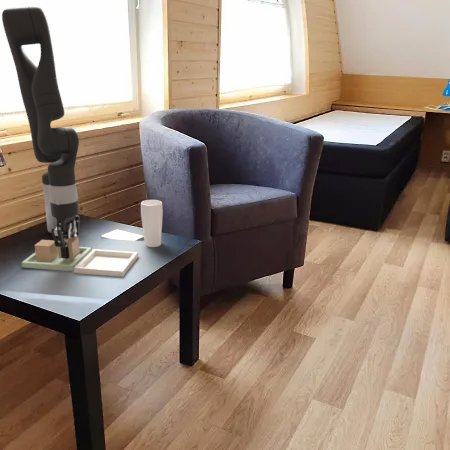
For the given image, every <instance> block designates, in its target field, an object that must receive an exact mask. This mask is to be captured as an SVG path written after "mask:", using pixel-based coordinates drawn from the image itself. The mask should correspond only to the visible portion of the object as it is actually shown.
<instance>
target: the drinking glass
mask: <svg viewBox="0 0 450 450" xmlns="http://www.w3.org/2000/svg"><path fill="white" fill-rule="evenodd" d="M163 213H164V212H163V202H162V201H161V200H158V199H145V200H142V201H141V203H140V219H141V224H142V225H141V226H142V232H143V236H144V239H143V241H144V246H145V247H148V248H157V247H160V246H161V245H162V230H163V218H164V217H163Z"/></svg>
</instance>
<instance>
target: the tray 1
mask: <svg viewBox="0 0 450 450" xmlns="http://www.w3.org/2000/svg"><path fill="white" fill-rule="evenodd" d="M79 249H80V254H78V255H77V256H76V257H75V258H74V259H63V258H59V257H56V258H55V259H54V260H53V261H52V262H43V261H36V253H35V252H34V253H32V254H31V255H29V256H28V257H27V258H25V259H24V260H23V261H21V268H26V269H38V270H40V269H42V270H50V271H51V270H53V271H64V272H74V267H75V266H77V265H78V264H79V263H80V262H81V261H82V260H83V259H84V258H85V257H86V256H87V255H88V254H89V253H90V252H91V251H92V250H93V247H89V246H88V247H87V246H79ZM57 251H58V247H57Z"/></svg>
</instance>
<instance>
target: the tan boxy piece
mask: <svg viewBox="0 0 450 450" xmlns="http://www.w3.org/2000/svg"><path fill="white" fill-rule="evenodd" d="M34 253H36V261H43V262H52V261H53V260H54V259H55V258H56V257H58V251H57V247H56V246H55V243H54V239H53V240H52V239H51V240H50V239H40V241H38V242H37V243H36V244H34Z"/></svg>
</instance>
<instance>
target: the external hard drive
mask: <svg viewBox="0 0 450 450" xmlns="http://www.w3.org/2000/svg"><path fill="white" fill-rule="evenodd" d="M100 238H101V239H107V240H122V241H123V240H124V241H135V242H136V241H137V242H141V241H144V235H141V234H137V233H135V232H134V233H132V232H129V231H125V230H123V229H122V230H121V229H114V230H112V231H109V232H107V233H103V234H102V235H100Z"/></svg>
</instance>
